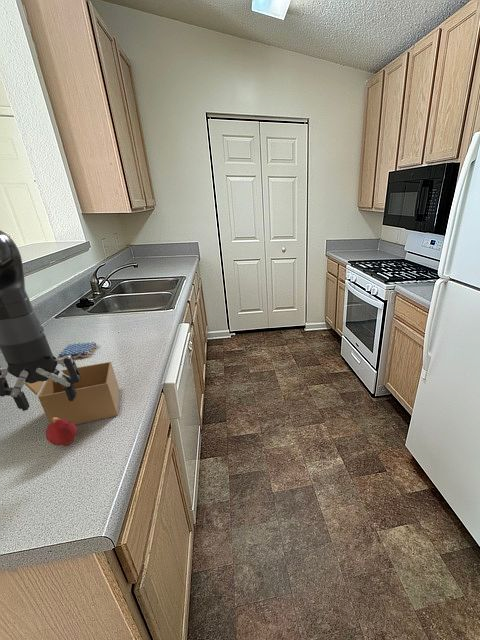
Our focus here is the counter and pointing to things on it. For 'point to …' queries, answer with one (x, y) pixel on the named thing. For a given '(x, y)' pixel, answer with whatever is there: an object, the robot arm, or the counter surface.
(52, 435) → the onion
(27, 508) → the counter surface
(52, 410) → the carton
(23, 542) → the counter surface
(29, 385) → the flap
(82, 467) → the counter surface
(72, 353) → the woven mat
